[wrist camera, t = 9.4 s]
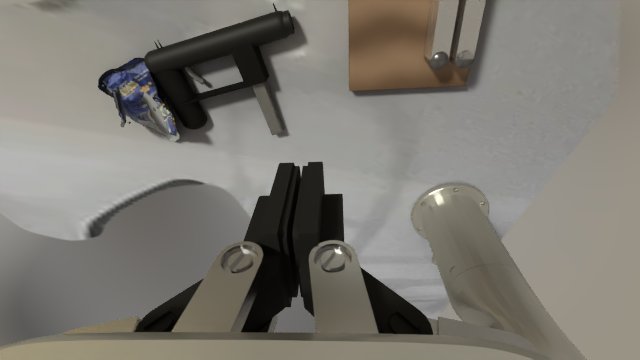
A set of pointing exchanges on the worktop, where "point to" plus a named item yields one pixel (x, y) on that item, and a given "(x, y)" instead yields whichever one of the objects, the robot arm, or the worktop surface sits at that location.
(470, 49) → the arm
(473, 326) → the robot arm
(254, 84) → the black submachine gun
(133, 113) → the snack package
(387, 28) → the cutting board
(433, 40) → the tongs arm
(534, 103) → the worktop surface
